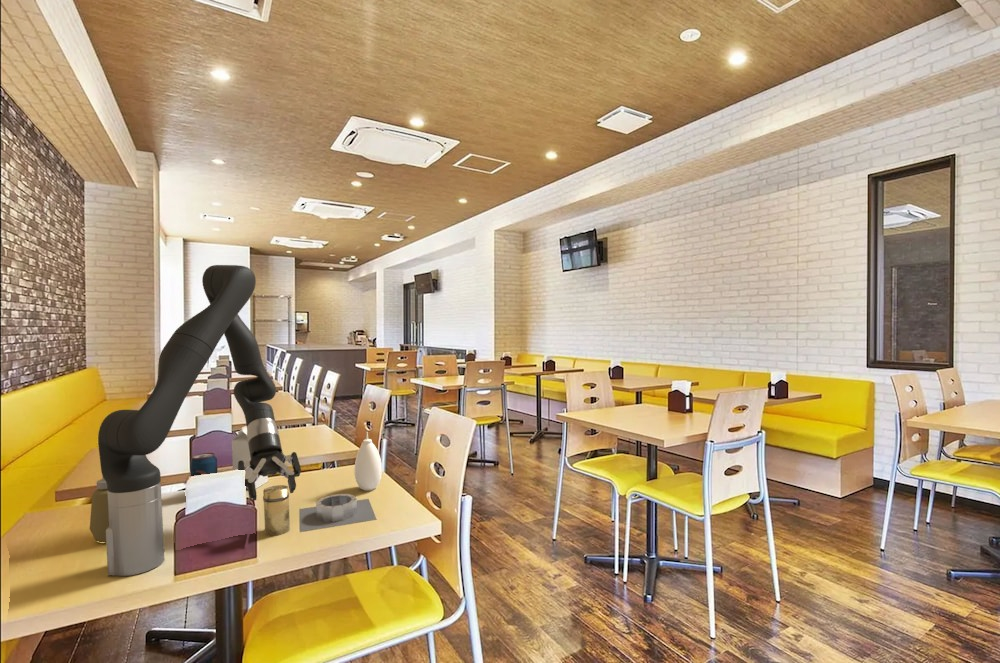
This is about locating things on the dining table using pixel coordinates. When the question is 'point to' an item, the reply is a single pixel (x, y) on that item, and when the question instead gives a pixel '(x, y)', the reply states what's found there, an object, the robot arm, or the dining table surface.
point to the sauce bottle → (368, 466)
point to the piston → (276, 510)
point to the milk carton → (244, 455)
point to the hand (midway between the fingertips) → (273, 495)
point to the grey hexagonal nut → (336, 507)
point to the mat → (312, 523)
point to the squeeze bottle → (99, 511)
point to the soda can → (203, 464)
